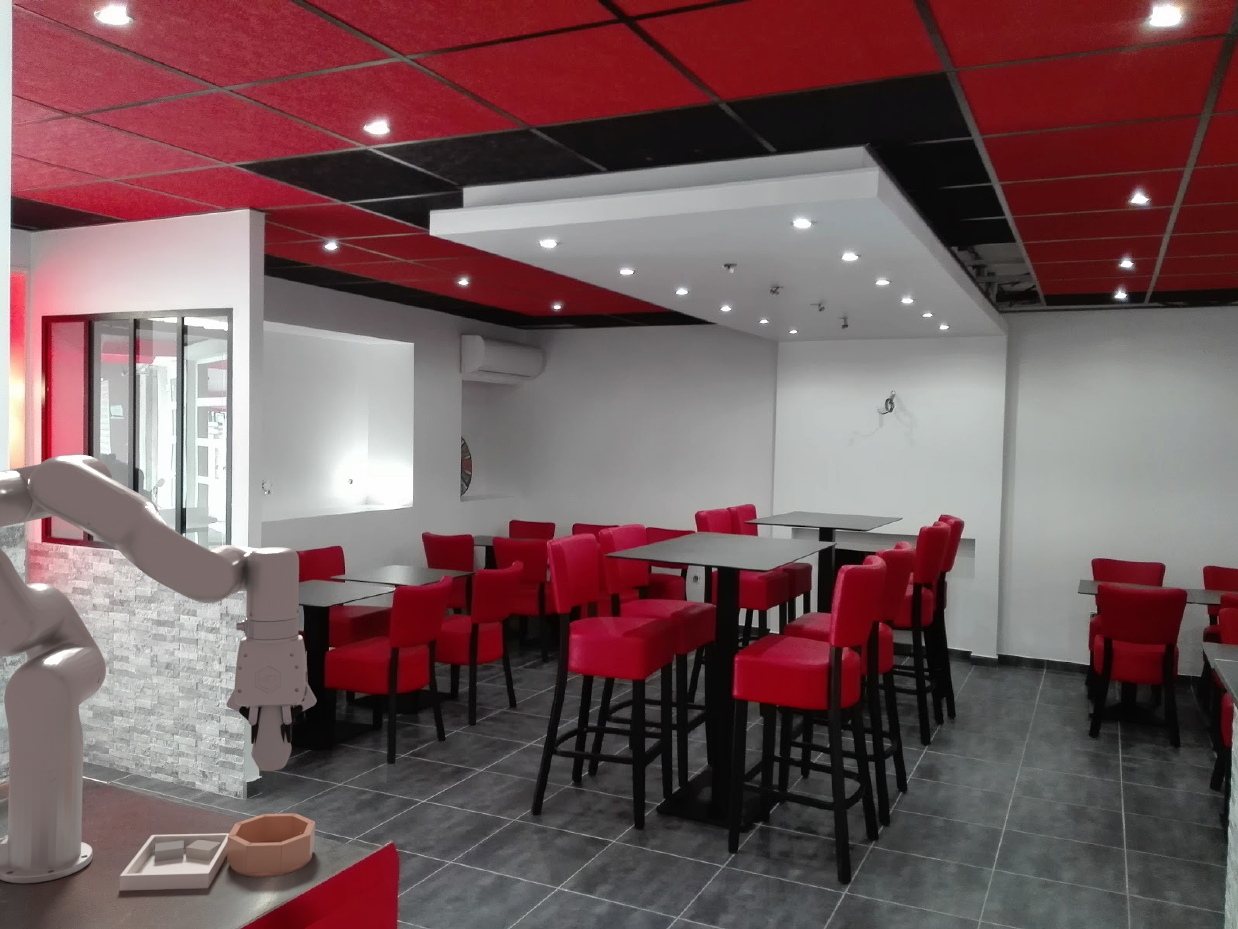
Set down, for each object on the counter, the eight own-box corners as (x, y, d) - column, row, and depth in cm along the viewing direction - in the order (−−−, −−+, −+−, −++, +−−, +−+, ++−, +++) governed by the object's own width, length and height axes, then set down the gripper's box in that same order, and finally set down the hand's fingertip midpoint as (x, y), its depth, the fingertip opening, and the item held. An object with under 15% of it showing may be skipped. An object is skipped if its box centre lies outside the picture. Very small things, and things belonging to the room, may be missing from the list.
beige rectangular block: (185, 857, 150) (186, 847, 150) (197, 849, 153) (198, 839, 152) (209, 861, 149) (209, 850, 149) (220, 852, 152) (221, 842, 152)
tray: (119, 891, 139) (119, 875, 138) (151, 848, 152) (151, 835, 152) (208, 888, 140) (208, 873, 140) (231, 847, 154) (232, 833, 154)
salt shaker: (277, 775, 146) (278, 689, 146) (243, 771, 147) (244, 686, 147) (298, 762, 152) (299, 679, 151) (265, 758, 153) (265, 676, 152)
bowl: (220, 878, 143) (221, 846, 143) (239, 844, 155) (240, 814, 155) (305, 876, 145) (306, 844, 145) (317, 842, 157) (318, 813, 157)
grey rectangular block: (154, 862, 148) (154, 851, 148) (155, 853, 150) (155, 843, 150) (183, 858, 149) (183, 848, 149) (183, 850, 152) (183, 840, 152)
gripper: (209, 634, 144) (209, 757, 144) (324, 633, 146) (322, 754, 147) (222, 624, 151) (222, 741, 152) (331, 623, 154) (330, 739, 154)
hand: (271, 746), depth 149 cm, fingers closed on salt shaker, 3 cm apart
